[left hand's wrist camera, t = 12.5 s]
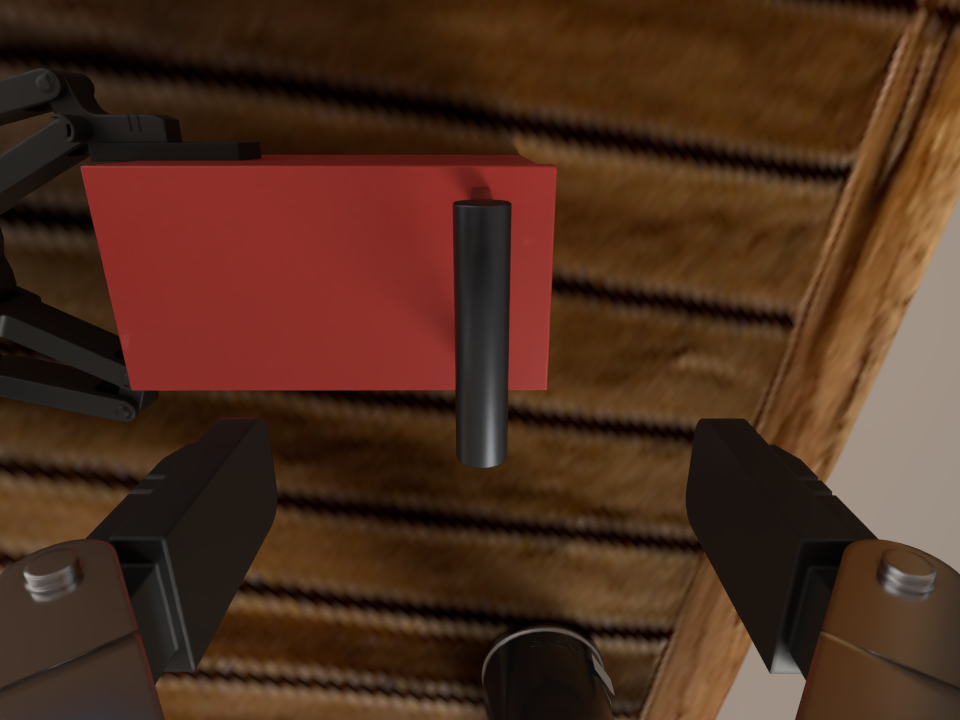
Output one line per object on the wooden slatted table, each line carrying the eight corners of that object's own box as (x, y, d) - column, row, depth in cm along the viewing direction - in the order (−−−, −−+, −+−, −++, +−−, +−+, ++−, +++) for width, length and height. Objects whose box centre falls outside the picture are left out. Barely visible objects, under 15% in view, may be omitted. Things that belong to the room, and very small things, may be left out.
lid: (554, 164, 23) (592, 180, 15) (544, 381, 26) (572, 486, 18) (95, 164, 23) (-102, 180, 15) (143, 381, 26) (1, 486, 18)
